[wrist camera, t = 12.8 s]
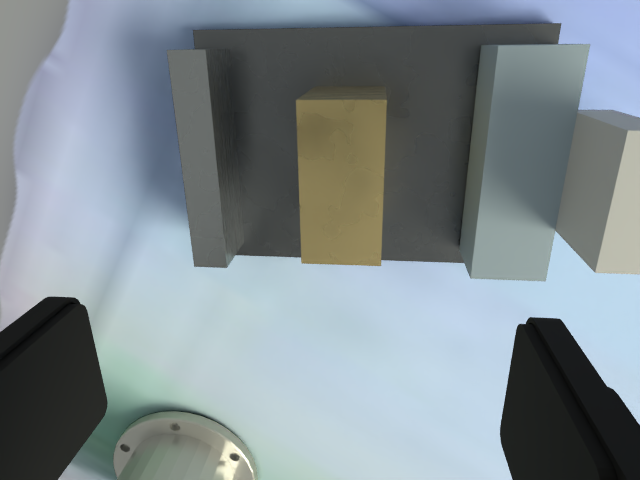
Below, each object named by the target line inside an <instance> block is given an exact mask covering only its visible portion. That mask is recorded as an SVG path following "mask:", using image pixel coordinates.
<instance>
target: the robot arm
mask: <svg viewBox="0 0 640 480" xmlns="http://www.w3.org/2000/svg"><path fill="white" fill-rule="evenodd" d="M106 409H107V397H106V393H105V388H104V384H103V379H102V375H101V370H100V366H99V361H98V357H97V352H96V348H95V344H94V339H93V335H92V330H91V326H90V321H89V317H88V312H87V309H86V307H85V306H84V305H82V304H80V302H79V301H78V299H76V298H72V297H47V298H45V299H43V300H42V301H41V302H39V303H38V304H37V305H35V306H34V307H33V308H31V309H30V310H29V311H28V312H26V313H25V314H24V315H22V316H21V317H20V318H18V319H17V320H16V321H14V322H13V323H12V324H10V325H9V326H8V327H6V328H5V329H4V330H2V331H1V332H0V480H58V478H59V477H60V476H61V474H62V473H63V472H64V470H65V469H66V467H67V466H68V465H69V463H70V462H71V461H72V459H73V458H74V457H75V455H76V454H77V453H78V451H79V450H80V448H81V447H82V446H83V444H84V443H85V442H86V440H87V439H88V438H89V436H90V435H91V433H92V432H93V431H94V429H95V428H96V427H97V425H98V424H99V423H100V421H101V420H102V418H103V417H104V415H105V413H106ZM500 437H501V444H502V448H503V451H504V454H505V457H506V460H507V463H508V466H509V470H510V473H511V476H512V479H513V480H640V425H639V424H638V422H637V421H636V419H635V418H634V417H633V415H632V414H631V412H630V411H629V409H628V408H627V407H626V405H625V404H624V402H623V401H622V399H621V398H620V397H619V395H618V394H617V393H616V392H615V391H614V390H613V389H611V388H609V387H607V386H606V384H605V383H604V382H603V380H602V379H601V377H600V376H599V374H598V373H597V371H596V370H595V368H594V367H593V365H592V364H591V363H590V361H589V360H588V358H587V357H586V355H585V354H584V352H583V351H582V349H581V348H580V346H579V345H578V344H577V342H576V341H575V339H574V338H573V336H572V335H571V333H570V332H569V330H568V329H567V327H566V326H565V324H564V323H563V322H562V321H561V320H560V319H556V318H533V317H530V318H529V319H528V320H527V322H526V324H519V325H518V327H517V330H516V335H515V341H514V347H513V353H512V359H511V365H510V372H509V378H508V384H507V390H506V396H505V402H504V408H503V414H502V420H501V427H500ZM113 465H114V469H115V473H116V476H117V478H118V479H117V480H258V477H257V468H256V465H255V462H254V459H253V457H252V455H251V454H250V452H249V450H248V449H247V447H246V446H245V445H244V444H243V443H242V441H241V440H240V439H239V438H238V437H237V436H235V435H234V434H233V433H232V432H231V431H229V430H228V429H227V428H225V427H223V426H222V425H220V424H218V423H217V422H215V421H212V420H210V419H207V418H205V417H203V416H199V415H195V414H191V413H186V412H177V411H169V412H158V413H154V414H149V415H147V416H144V417H142V418H140V419H138V420H136V421H135V422H134V423H132V424H131V425H130V426H129V427H128V428H127V429H126V430H125V432H124V433H123V434H122V436H121V438H120V439H119V441H118V442H117V444H116V447H115V451H114V454H113Z"/></svg>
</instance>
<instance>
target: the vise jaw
mask: <svg viewBox="0 0 640 480" xmlns="http://www.w3.org/2000/svg"><path fill="white" fill-rule="evenodd" d="M589 48H590V44H524V45H481V51H480V61H479V70H478V79H477V89H476V98H475V107H474V117H473V126H472V135H471V145H470V154H469V163H468V173H467V182H466V191H465V201H464V210H463V219H462V229H461V238H460V247H459V250H460V253H461V255H462V258H463V261H464V263H465V266H466V268H467V271H468V273H469V276H470V278H471V279H497V280H524V281H546V277H547V271H548V266H549V261H550V255H551V250H552V245H553V239H554V234H555V231H556V232H557V233H558V234H559V235H560V236H561V237H562V238H563V239H564V240H565V241H566V242H567V243H568V244H569V245H570V247H571V248H572V249H573V250H574V251H575V252H576V253H577V254H578V255H579V256H580V257H581V258H582V259H583V260H584V261H585V262H586V264H587V265H588V266H589V267H590V268H591V269H592V270H593V271H594V272H595V273H616V274H640V118H639V117H635V116H632V115H628V114H625V113H622V112H618V111H615V110H578V106H579V101H580V96H581V91H582V85H583V80H584V75H585V69H586V64H587V59H588V53H589Z"/></svg>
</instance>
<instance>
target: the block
mask: <svg viewBox="0 0 640 480" xmlns="http://www.w3.org/2000/svg"><path fill="white" fill-rule="evenodd" d="M386 110H387V97H386V91H385V86H320V87H314V88H312V89H311V90H309V91H308V92H307V93H305V94H304V95H302V96H301V97H300V98H298V99H297V100H296V117H297V146H298V175H299V204H300V233H301V262H302V263H307V264H337V265H367V266H381V249H382V221H383V193H384V166H385V138H386Z"/></svg>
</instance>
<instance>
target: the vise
mask: <svg viewBox="0 0 640 480" xmlns="http://www.w3.org/2000/svg"><path fill="white" fill-rule="evenodd" d="M560 28H561V23H553V24H499V25H444V26H390V27H336V28H282V29H228V30H193V35H194V44H195V49H184V50H167V56H168V63H169V71H170V79H171V87H172V95H173V103H174V111H175V118H176V126H177V134H178V142H179V150H180V158H181V166H182V173H183V181H184V189H185V197H186V205H187V213H188V221H189V228H190V236H191V244H192V252H193V260H194V267H220V268H227V267H228V265H229V264H230V262H231V261H232V259H233V258H234V256H235V255H249V256H278V257H301V233H300V204H299V175H298V146H297V117H296V100H297V99H298V98H300V97H301V96H302V95H304V94H305V93H307V92H308V91H309V90H311V89H312V88H314V87H320V86H385V91H386V97H387V110H386V138H385V166H384V193H383V221H382V249H381V260H394V261H424V262H453V263H464V261H463V258H462V255H461V253H460V250H459V247H460V238H461V229H462V219H463V210H464V201H465V191H466V182H467V173H468V163H469V154H470V145H471V135H472V126H473V117H474V107H475V98H476V89H477V79H478V70H479V61H480V51H481V45H524V44H558V40H559V34H560Z"/></svg>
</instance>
